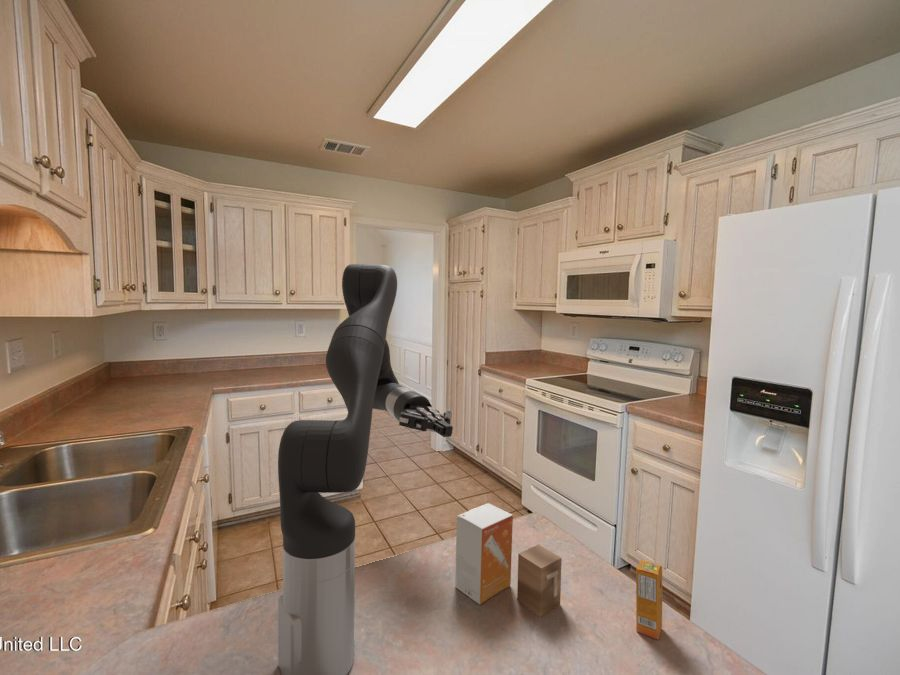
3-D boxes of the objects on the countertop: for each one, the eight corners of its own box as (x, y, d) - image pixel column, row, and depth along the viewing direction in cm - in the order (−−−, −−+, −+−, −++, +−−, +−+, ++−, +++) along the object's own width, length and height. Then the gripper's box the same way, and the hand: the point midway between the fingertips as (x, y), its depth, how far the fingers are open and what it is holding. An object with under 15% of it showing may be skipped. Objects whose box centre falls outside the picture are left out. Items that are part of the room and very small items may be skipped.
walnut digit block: (541, 618, 66) (542, 569, 65) (517, 599, 70) (518, 553, 70) (561, 605, 69) (562, 558, 68) (537, 588, 73) (538, 544, 72)
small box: (480, 606, 68) (481, 529, 67) (454, 587, 73) (455, 514, 72) (512, 586, 73) (513, 514, 73) (485, 569, 78) (487, 501, 78)
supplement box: (638, 618, 66) (640, 557, 65) (662, 628, 64) (664, 565, 63) (633, 631, 63) (636, 567, 63) (658, 641, 61) (661, 576, 61)
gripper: (383, 390, 90) (421, 414, 76) (434, 390, 97) (479, 412, 83) (378, 424, 90) (416, 453, 76) (430, 421, 98) (473, 448, 83)
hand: (448, 432), depth 80 cm, fingers closed
